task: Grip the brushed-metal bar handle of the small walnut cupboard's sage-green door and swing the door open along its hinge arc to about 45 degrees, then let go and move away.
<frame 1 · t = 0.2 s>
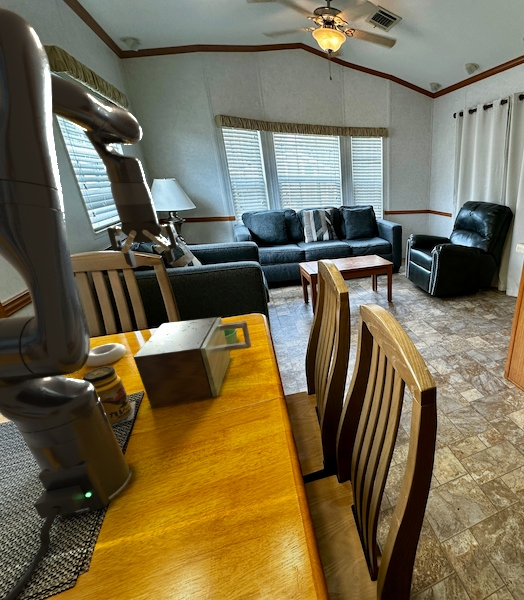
hand: (152, 265, 87), 29 cm above the table, tool pointing down, fingers open, 8 cm apart
donut: (106, 359, 98), on the table
door: (231, 352, 87), point 7 cm above the table, hinge at 0.0°
cupboard: (192, 381, 87), on the table
ramekin: (224, 344, 106), on the table
condiment: (111, 418, 75), on the table
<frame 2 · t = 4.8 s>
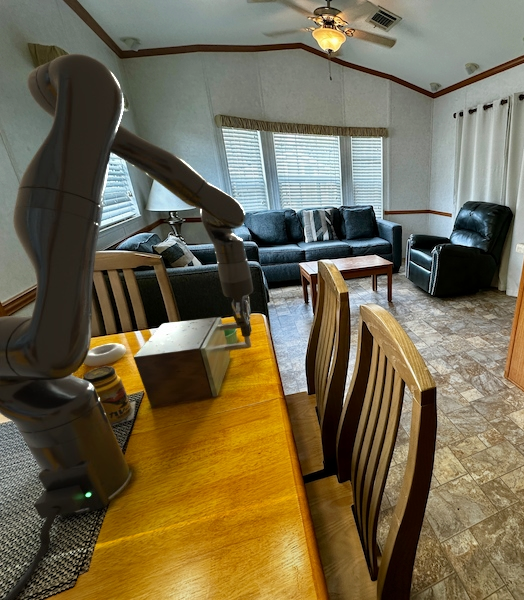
hand: (247, 334, 94), 9 cm above the table, tool pointing down, fingers closed
door: (231, 352, 87), point 7 cm above the table, hinge at 0.0°, touching gripper
everything else where it was.
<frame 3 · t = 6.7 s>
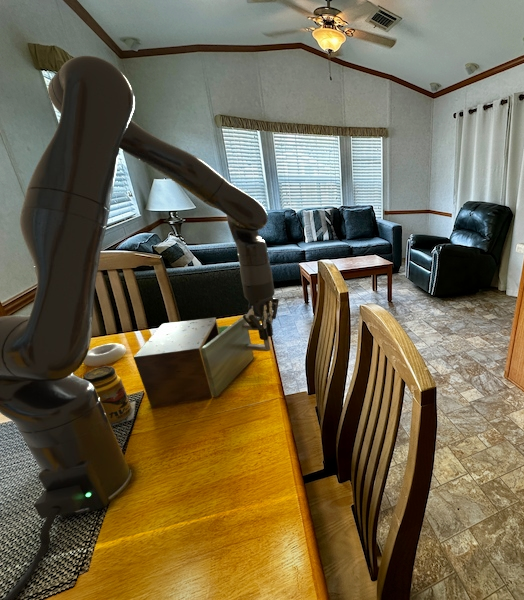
hand: (266, 337, 92), 9 cm above the table, tool pointing down, fingers closed
door: (242, 354, 86), point 7 cm above the table, hinge at 22.1°, touching gripper
everything else where it was.
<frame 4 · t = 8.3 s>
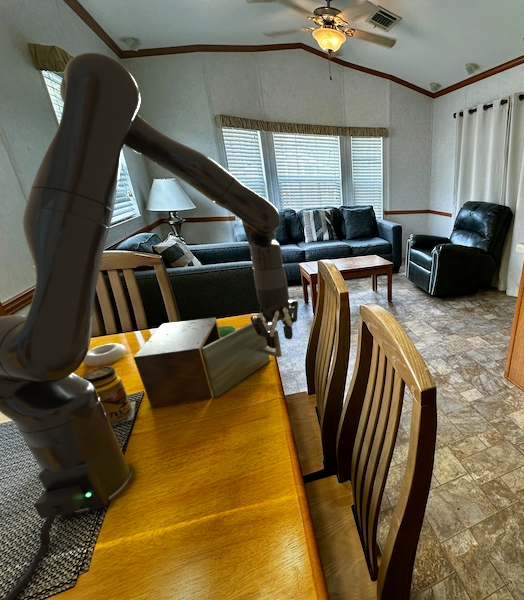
hand: (280, 342, 88), 9 cm above the table, tool pointing down, fingers open, 5 cm apart
door: (249, 357, 85), point 7 cm above the table, hinge at 39.9°
everything else where it was.
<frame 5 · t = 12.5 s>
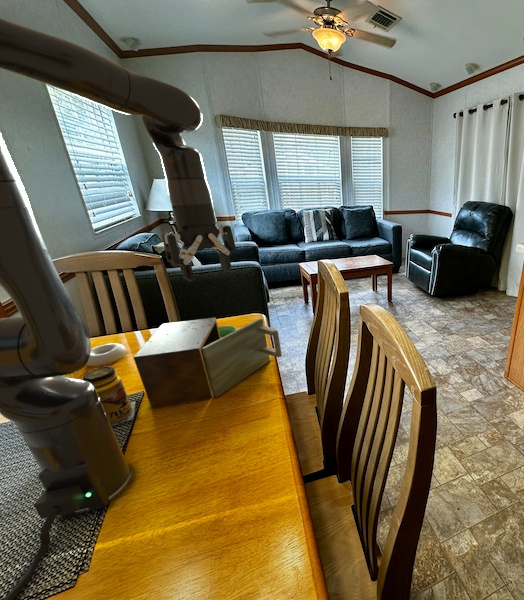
hand: (209, 275, 74), 30 cm above the table, tool pointing down, fingers open, 8 cm apart
nothing on the table moved.
at the end: door at +40° (first picture: +0°); the gripper is holding nothing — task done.
